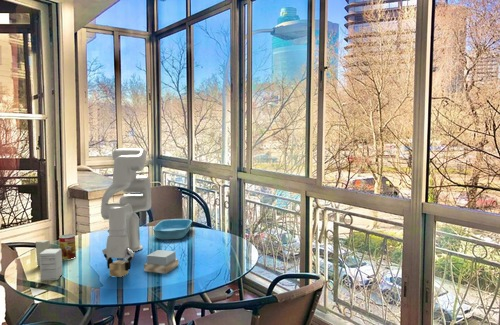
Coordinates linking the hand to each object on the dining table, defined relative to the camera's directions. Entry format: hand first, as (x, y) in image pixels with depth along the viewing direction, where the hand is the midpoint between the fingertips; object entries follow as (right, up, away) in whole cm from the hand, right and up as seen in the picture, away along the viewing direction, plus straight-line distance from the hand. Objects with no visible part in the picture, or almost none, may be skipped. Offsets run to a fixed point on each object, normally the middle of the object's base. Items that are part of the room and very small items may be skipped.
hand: (119, 268), depth 186 cm
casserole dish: (+11, +2, +76) cm, 77 cm away
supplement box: (-30, -4, -2) cm, 31 cm away
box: (-43, -3, +15) cm, 45 cm away
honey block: (0, -3, 0) cm, 3 cm away
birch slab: (+18, -3, +9) cm, 20 cm away
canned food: (-36, -2, +27) cm, 46 cm away
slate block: (+18, +1, +9) cm, 20 cm away
